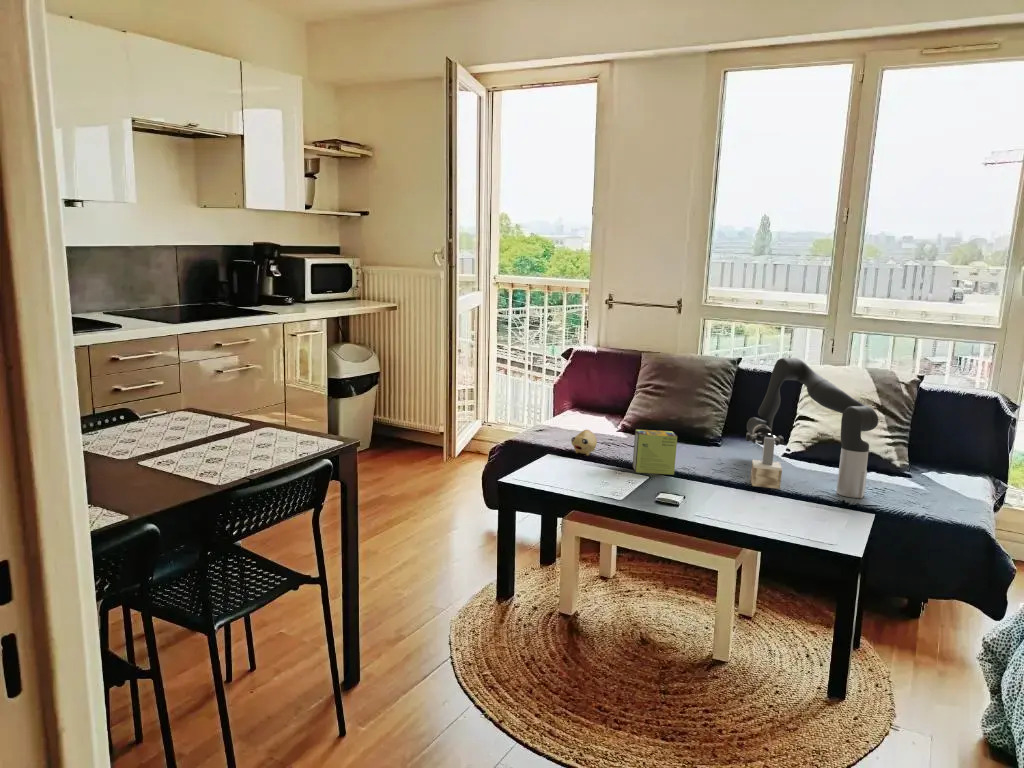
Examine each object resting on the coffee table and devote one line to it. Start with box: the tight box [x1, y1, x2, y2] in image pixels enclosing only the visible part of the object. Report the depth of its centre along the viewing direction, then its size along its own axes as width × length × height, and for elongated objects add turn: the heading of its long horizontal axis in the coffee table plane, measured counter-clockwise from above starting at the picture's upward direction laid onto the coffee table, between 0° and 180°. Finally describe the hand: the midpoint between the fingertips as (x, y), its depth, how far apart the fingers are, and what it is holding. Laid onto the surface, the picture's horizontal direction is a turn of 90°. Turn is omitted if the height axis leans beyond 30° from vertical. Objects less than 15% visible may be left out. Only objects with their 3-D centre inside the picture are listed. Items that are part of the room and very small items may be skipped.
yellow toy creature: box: [570, 429, 598, 457], centre depth 329 cm, size 10×12×11 cm
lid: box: [751, 437, 783, 472], centre depth 293 cm, size 10×10×12 cm
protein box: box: [632, 429, 678, 476], centre depth 306 cm, size 10×15×16 cm
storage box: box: [750, 462, 783, 490], centre depth 294 cm, size 10×10×7 cm
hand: (765, 441), depth 304 cm, fingers open, 8 cm apart
